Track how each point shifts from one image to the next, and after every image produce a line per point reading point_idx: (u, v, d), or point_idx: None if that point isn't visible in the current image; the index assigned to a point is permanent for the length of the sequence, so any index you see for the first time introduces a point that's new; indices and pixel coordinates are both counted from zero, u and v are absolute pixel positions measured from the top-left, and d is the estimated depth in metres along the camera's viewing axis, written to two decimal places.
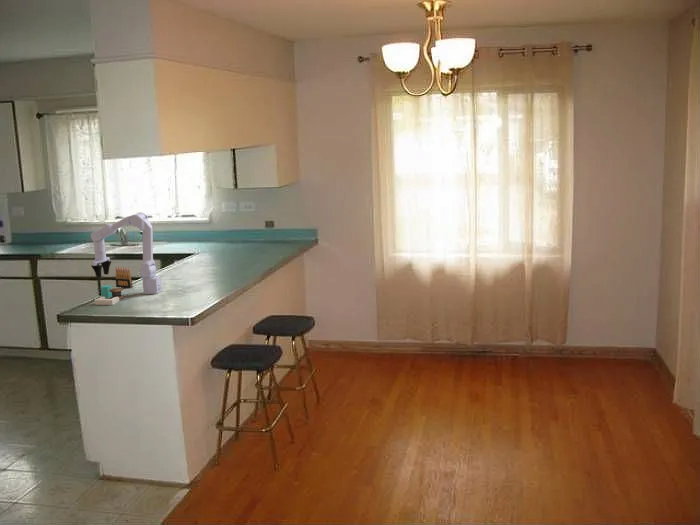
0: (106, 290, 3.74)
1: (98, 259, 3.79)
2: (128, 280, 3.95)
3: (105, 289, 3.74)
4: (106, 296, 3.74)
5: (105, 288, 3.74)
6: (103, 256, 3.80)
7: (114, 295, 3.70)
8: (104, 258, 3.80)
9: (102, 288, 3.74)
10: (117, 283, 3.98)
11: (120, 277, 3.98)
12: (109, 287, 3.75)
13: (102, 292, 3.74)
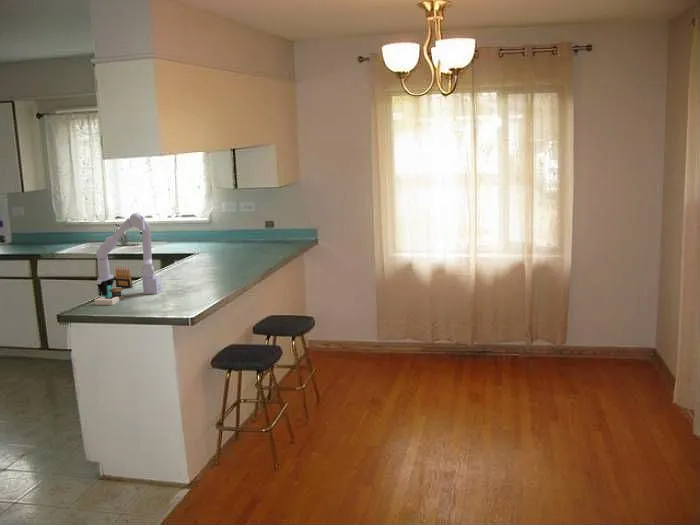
0: None
1: (102, 277, 3.72)
2: (128, 280, 3.95)
3: None
4: (106, 296, 3.74)
5: None
6: (107, 274, 3.73)
7: (114, 295, 3.70)
8: (108, 276, 3.73)
9: None
10: (117, 283, 3.98)
11: (120, 277, 3.97)
12: (109, 287, 3.75)
13: None
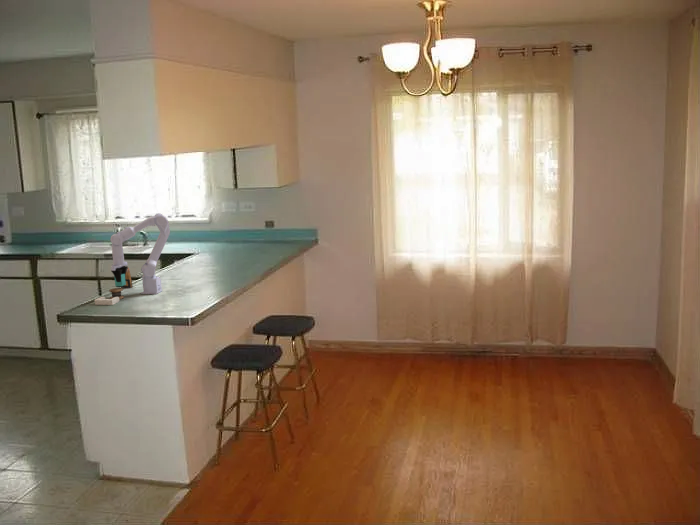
0: None
1: (116, 264, 3.70)
2: (128, 280, 3.95)
3: None
4: (120, 284, 3.73)
5: None
6: (121, 261, 3.71)
7: (114, 295, 3.70)
8: (122, 263, 3.72)
9: None
10: None
11: None
12: (123, 275, 3.74)
13: (116, 281, 3.73)
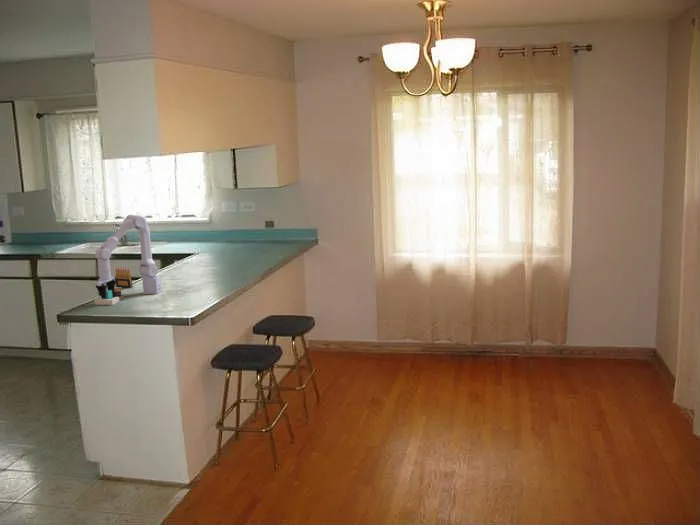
0: (107, 295, 3.61)
1: (103, 279, 3.58)
2: (128, 280, 3.95)
3: None
4: None
5: None
6: (108, 275, 3.59)
7: (114, 295, 3.70)
8: (109, 278, 3.60)
9: None
10: (117, 283, 3.98)
11: (120, 277, 3.97)
12: (110, 292, 3.62)
13: None
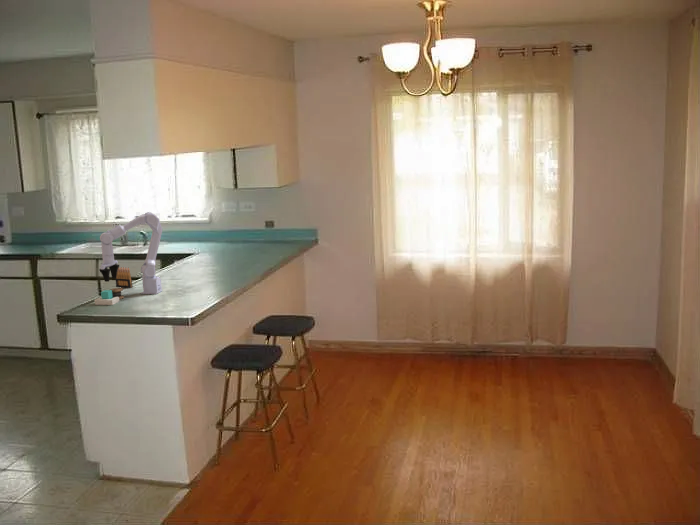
0: (107, 295, 3.61)
1: (106, 263, 3.67)
2: (128, 280, 3.95)
3: (105, 294, 3.61)
4: None
5: (105, 293, 3.61)
6: (111, 259, 3.68)
7: (114, 295, 3.70)
8: (112, 261, 3.69)
9: (102, 293, 3.61)
10: (117, 283, 3.98)
11: (120, 277, 3.98)
12: (110, 292, 3.62)
13: (102, 297, 3.61)
